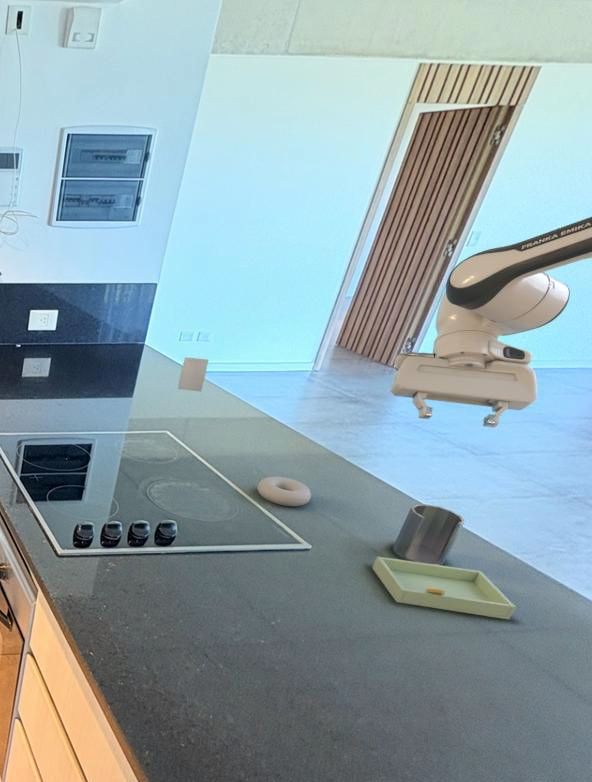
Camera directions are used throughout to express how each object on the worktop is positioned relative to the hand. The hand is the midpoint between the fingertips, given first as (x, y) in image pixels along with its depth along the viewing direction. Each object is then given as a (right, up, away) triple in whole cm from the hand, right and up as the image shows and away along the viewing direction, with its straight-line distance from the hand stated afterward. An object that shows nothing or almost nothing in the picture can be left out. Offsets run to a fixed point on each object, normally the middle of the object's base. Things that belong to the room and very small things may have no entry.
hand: (457, 421), depth 113 cm
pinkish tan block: (-4, +18, +87) cm, 89 cm away
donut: (-19, -15, +21) cm, 32 cm away
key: (-15, -29, -12) cm, 35 cm away
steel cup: (-7, -25, +1) cm, 26 cm away
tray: (-12, -30, -9) cm, 34 cm away
